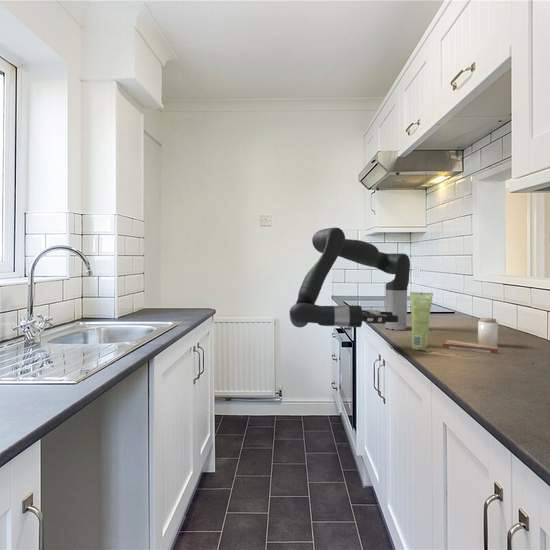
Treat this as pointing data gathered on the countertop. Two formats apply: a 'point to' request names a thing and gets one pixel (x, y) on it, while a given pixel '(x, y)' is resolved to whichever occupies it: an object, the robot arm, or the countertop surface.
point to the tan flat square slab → (469, 346)
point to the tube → (420, 318)
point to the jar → (487, 332)
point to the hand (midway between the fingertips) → (395, 316)
